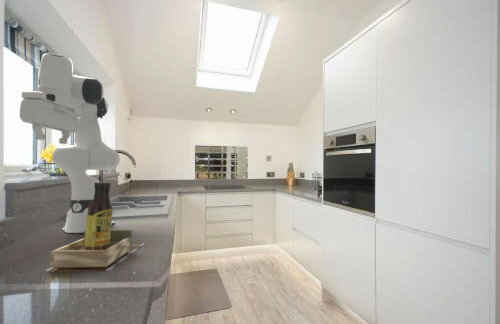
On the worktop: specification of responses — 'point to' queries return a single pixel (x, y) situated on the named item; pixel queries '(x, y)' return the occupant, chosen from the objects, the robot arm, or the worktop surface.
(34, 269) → the worktop surface
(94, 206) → the sauce bottle
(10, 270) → the worktop surface
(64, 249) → the shallow wooden tray
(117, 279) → the worktop surface
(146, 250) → the worktop surface
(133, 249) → the flat board
